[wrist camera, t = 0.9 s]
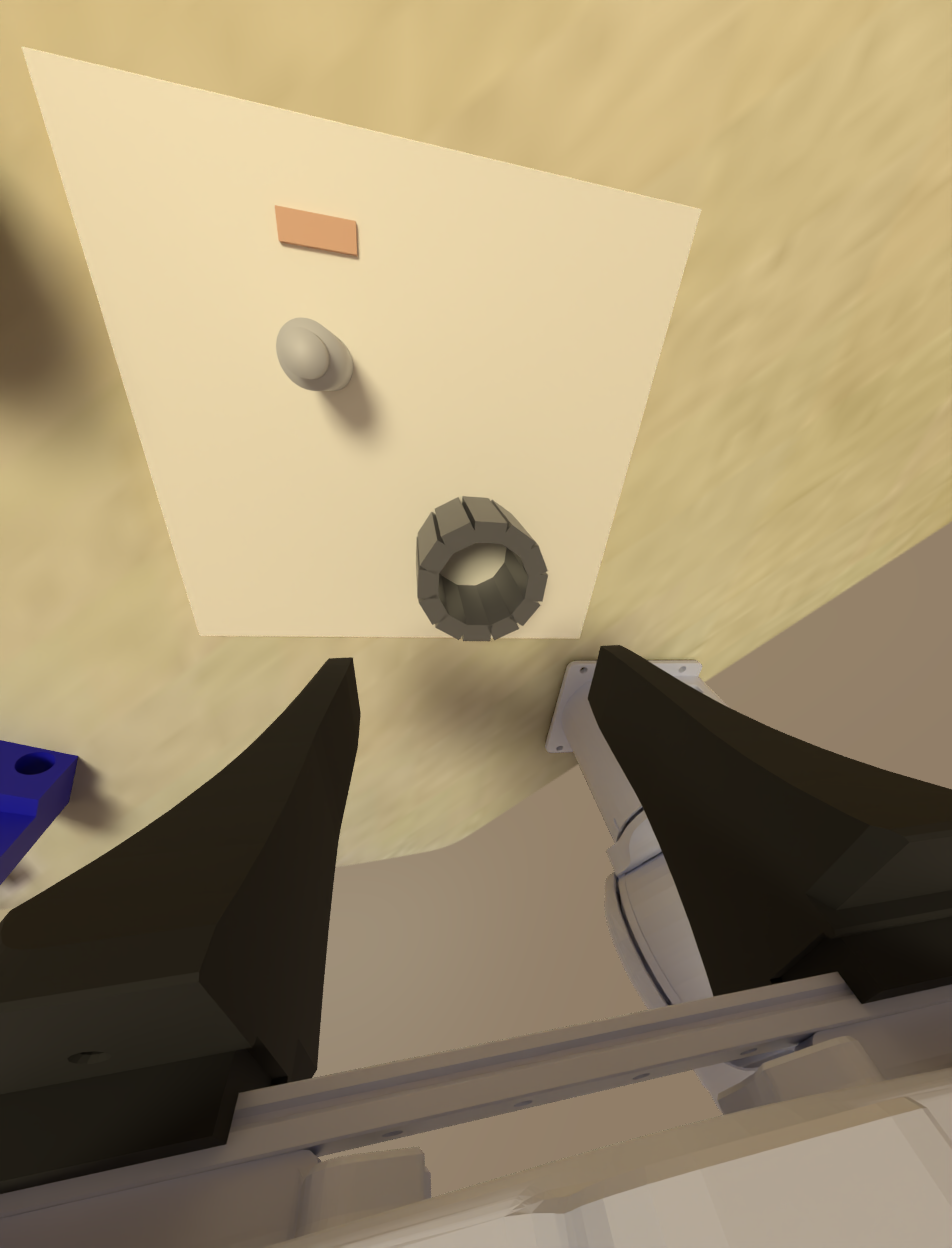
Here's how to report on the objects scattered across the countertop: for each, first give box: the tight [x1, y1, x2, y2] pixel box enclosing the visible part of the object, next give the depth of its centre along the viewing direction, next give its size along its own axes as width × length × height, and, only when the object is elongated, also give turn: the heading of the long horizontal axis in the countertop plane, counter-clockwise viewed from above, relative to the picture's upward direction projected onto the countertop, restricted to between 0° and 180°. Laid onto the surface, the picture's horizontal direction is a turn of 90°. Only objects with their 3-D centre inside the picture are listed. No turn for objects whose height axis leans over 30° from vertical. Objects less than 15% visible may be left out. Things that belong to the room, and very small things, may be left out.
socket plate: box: [21, 46, 701, 639], centre depth 15 cm, size 20×18×5 cm
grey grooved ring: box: [416, 496, 548, 641], centre depth 17 cm, size 5×5×4 cm
